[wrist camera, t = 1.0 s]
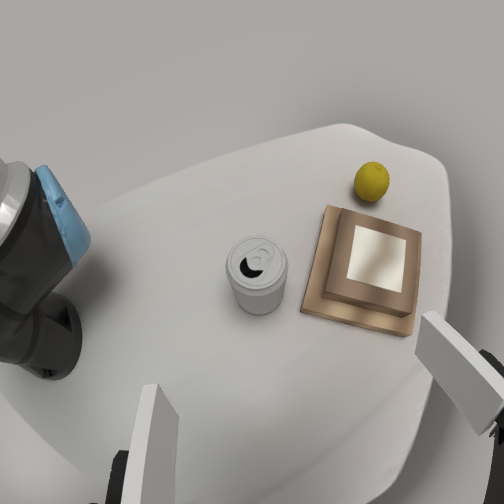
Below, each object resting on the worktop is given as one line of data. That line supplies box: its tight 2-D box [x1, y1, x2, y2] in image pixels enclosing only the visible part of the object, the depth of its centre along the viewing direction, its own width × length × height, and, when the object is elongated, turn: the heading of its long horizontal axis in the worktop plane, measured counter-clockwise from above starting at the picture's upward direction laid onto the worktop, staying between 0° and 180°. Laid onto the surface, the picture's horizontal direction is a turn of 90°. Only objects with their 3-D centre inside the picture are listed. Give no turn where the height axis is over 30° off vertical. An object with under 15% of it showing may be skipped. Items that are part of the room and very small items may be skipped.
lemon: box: [354, 162, 389, 201], centre depth 40 cm, size 6×6×8 cm
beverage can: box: [226, 236, 288, 315], centre depth 33 cm, size 6×6×12 cm
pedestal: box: [300, 205, 422, 337], centre depth 36 cm, size 16×16×6 cm
